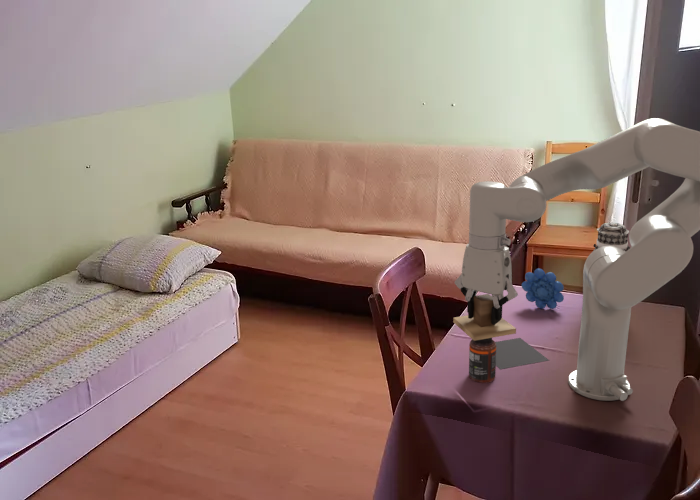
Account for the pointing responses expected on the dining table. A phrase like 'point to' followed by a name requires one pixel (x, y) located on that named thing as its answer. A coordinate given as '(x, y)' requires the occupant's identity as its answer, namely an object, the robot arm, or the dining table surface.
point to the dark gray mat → (516, 354)
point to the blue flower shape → (543, 289)
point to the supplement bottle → (482, 360)
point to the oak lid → (483, 321)
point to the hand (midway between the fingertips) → (484, 318)
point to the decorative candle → (612, 236)
